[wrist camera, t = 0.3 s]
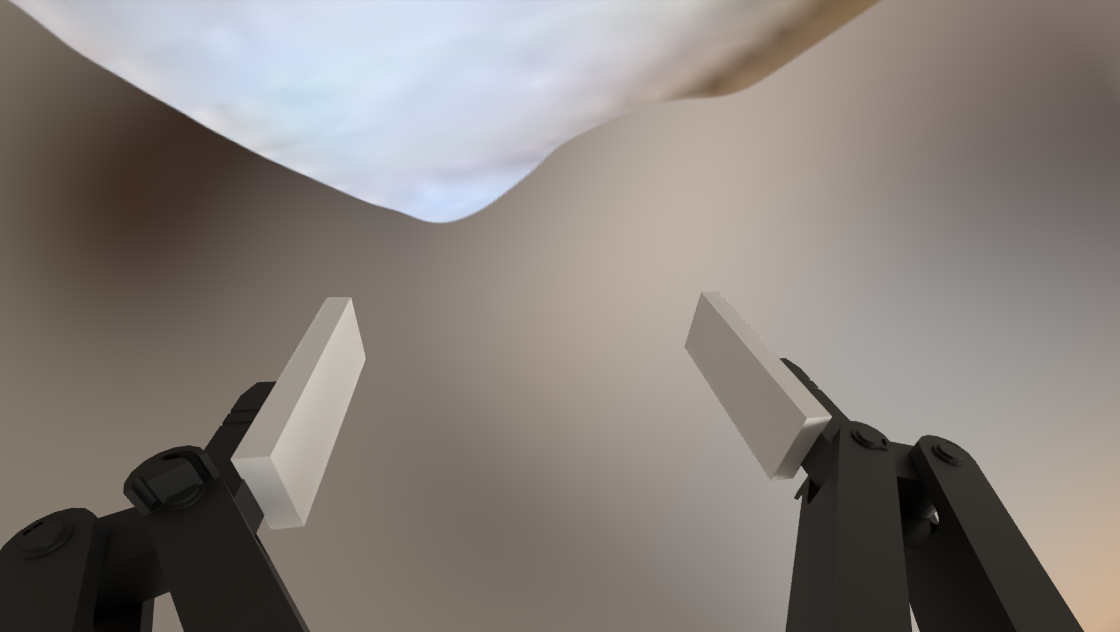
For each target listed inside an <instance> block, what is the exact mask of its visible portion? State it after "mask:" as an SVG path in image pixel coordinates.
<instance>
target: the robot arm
mask: <svg viewBox="0 0 1120 632" xmlns="http://www.w3.org/2000/svg"><path fill="white" fill-rule="evenodd" d="M685 348H686V350H687V351H688V353H689V354H690V356H691V357H692V359H693V360H694V362H695V363H696V365H697V367H698V368H699V370H700V371H701V373H702V374H703V376H704V378H705V379H706V381H707V382H708V384H709V385H710V387H711V388H712V390H713V392H714V393H715V395H716V396H717V398H718V399H719V401H720V403H721V404H722V406H723V407H724V409H725V410H726V411H727V413H728V415H729V416H730V418H731V420H732V421H733V423H734V424H735V426H736V427H737V429H738V430H739V432H740V434H741V435H742V437H743V438H744V440H745V441H746V443H747V444H748V446H749V448H750V449H751V451H752V452H753V454H754V455H755V457H756V459H757V460H758V462H759V463H760V465H761V466H762V468H763V469H764V471H765V473H766V474H767V476H768V477H769V479H770V480H781V479H791V478H793V477H794V476H795V474H796V473H797V471H798V469H799V468H800V466H802V467H803V469H804V470H805V471H806V473H807V474H808V477H807V478H806V480H805V481H804V483H803V484H802V486H801V487H800V489H799V490H798V492H797V493H796V495H795V497H794V498H795V499H797V500H798V499H799V498H800V496H801V495H802V503H801V510H800V518H799V526H798V535H797V543H796V551H795V559H794V567H793V575H792V583H791V592H790V600H789V607H788V608H789V609H788V615H787V616H788V617H787V624H786V632H912V625H911V616H910V605H911V608H912V611H913V614H914V617H915V619H916V622H917V625H918V628H919V631H920V632H1084V631H1083V629H1082V628H1081V626H1080V625H1079V623H1078V621H1077V620H1076V618H1075V617H1074V615H1073V614H1072V612H1071V610H1070V609H1069V607H1068V606H1067V604H1066V603H1065V601H1064V599H1063V598H1062V596H1061V595H1060V593H1059V592H1058V590H1057V589H1056V587H1055V585H1054V584H1053V582H1052V581H1051V579H1050V578H1049V576H1048V574H1047V573H1046V571H1045V570H1044V568H1043V567H1042V565H1041V564H1040V562H1039V560H1038V559H1037V557H1036V555H1035V554H1034V552H1033V551H1032V549H1031V548H1030V546H1029V545H1028V543H1027V541H1026V540H1025V538H1024V537H1023V535H1022V534H1021V532H1020V530H1019V529H1018V527H1017V526H1016V524H1015V523H1014V521H1013V519H1012V518H1011V516H1010V515H1009V513H1008V512H1007V510H1006V509H1005V507H1004V505H1003V504H1002V502H1001V501H1000V499H999V497H998V496H997V494H996V493H995V491H994V490H993V488H992V487H991V485H990V483H989V482H988V480H987V479H986V477H985V476H984V474H983V473H982V471H981V469H980V468H979V466H978V465H977V463H976V461H975V460H974V459H973V458H972V457H971V456H970V454H969V453H967V452H966V451H965V450H964V449H962V448H961V447H960V446H958V445H957V444H955V443H952V442H951V441H949V440H946V439H943V438H941V437H938V436H932V435H926V436H922V437H921V438H920V439H919V441H918V442H917V443H916V444H915V445H914V446H911V445H906V444H900V443H895V442H890V441H889V440H888V439H887V438H886V437H885V435H883V434H882V433H881V432H879V431H878V430H877V429H875V428H873V427H871V426H869V425H867V424H864V423H861V422H857V421H850V420H849V419H848V418H847V417H846V416H845V415H844V414H843V413H842V412H841V411H840V410H839V409H838V407H836V405H834V403H833V402H832V401H831V400H830V399H829V398H828V397H827V396H826V395H825V394H824V393H823V392H822V391H821V390H819V389H818V386H817V385H816V384H815V383H814V382H813V381H810V378H809V377H808V376H807V375H806V374H805V373H804V372H803V371H802V370H801V368H799V367H798V366H796V365H795V364H793V363H792V362H790V361H789V360H787V359H786V358H778V357H777V356H776V355H775V353H774V352H773V351H772V350H771V349H770V348H769V347H768V346H767V345H766V344H765V342H764V341H763V340H762V339H761V338H760V337H759V336H758V335H757V334H756V333H755V331H754V330H753V329H752V328H751V327H750V326H749V325H748V324H747V323H746V322H745V320H743V318H742V317H741V316H740V315H739V314H738V313H737V312H736V311H735V309H734V308H733V307H732V306H731V305H730V304H729V303H728V302H727V301H726V299H725V298H724V297H723V296H722V295H721V294H720V293H719V292H701V295H700V298H699V301H698V305H697V308H696V312H695V315H694V318H693V321H692V324H691V328H690V331H689V334H688V337H687V341H686V344H685ZM364 361H365V354H364V350H363V345H362V341H361V337H360V334H359V329H358V325H357V321H356V316H355V312H354V308H353V304H352V300H351V297H331V298H329V297H328V298H327V299H326V300H325V302H324V304H323V305H322V307H321V309H320V310H319V312H318V314H317V315H316V317H315V319H314V321H313V322H312V324H311V325H310V327H309V329H308V330H307V332H306V334H305V335H304V337H303V339H302V340H301V342H300V344H299V346H298V347H297V349H296V351H295V352H294V354H293V356H292V357H291V359H290V361H289V362H288V364H287V366H286V367H285V369H284V371H283V372H282V374H281V376H280V377H279V379H278V381H277V382H257V383H256V384H255V385H254V386H252V387H251V388H250V389H249V390H247V391H246V392H245V393H244V394H242V395H241V396H240V398H239V399H238V401H237V402H236V404H235V405H234V407H233V408H232V409H231V413H230V414H228V415H227V417H226V418H225V420H224V421H223V425H222V426H220V427H219V429H218V430H217V432H216V433H215V435H214V436H213V438H212V439H211V440H210V442H209V444H208V445H207V446H206V448H205V450H202V449H201V448H200V447H195V446H189V445H188V446H181V447H175V448H172V449H169V450H166V451H163V452H160V453H158V454H156V455H155V456H153V457H151V458H149V459H147V460H146V461H144V462H143V463H142V464H141V465H139V466H138V467H137V468H136V469H135V470H134V471H132V472H131V474H130V475H129V477H128V478H127V480H126V481H125V483H124V492H123V493H124V495H125V496H126V497H127V498H128V499H129V500H130V501H131V503H132V504H133V505H134V506H135V507H133V508H129V509H126V510H123V511H120V512H117V513H113V514H110V515H107V516H104V517H100V518H97V517H96V516H95V515H94V514H93V513H92V512H91V511H89V510H87V509H85V508H70V509H66V510H62V511H58V512H54V513H52V514H50V515H47V516H45V517H43V518H41V519H39V520H36V521H35V522H33V523H32V524H30V525H29V526H27V527H26V528H24V529H22V530H21V531H19V532H18V533H17V534H16V535H15V536H13V537H12V538H11V539H10V540H9V541H8V542H7V543H6V544H5V545H4V546H3V547H2V549H1V550H0V632H152V624H153V611H154V610H153V609H154V598H155V597H157V596H160V595H162V594H165V593H167V592H170V593H171V596H172V599H173V602H174V605H175V607H176V610H177V613H178V616H179V619H180V622H181V625H182V628H183V630H184V632H310V631H309V629H308V627H307V625H306V623H305V621H304V620H303V618H302V616H301V614H300V612H299V610H298V609H297V607H296V605H295V603H294V602H293V600H292V598H291V596H290V594H289V592H288V590H287V589H286V587H285V585H284V583H283V581H282V579H281V577H280V576H279V574H278V572H277V570H276V568H275V567H274V565H273V563H272V561H271V559H270V557H269V555H268V554H267V552H266V550H265V548H264V547H263V544H262V543H261V541H260V539H259V537H258V536H257V534H256V533H257V530H258V528H259V526H260V524H261V522H262V519H263V517H264V518H265V520H266V522H267V524H268V525H269V527H270V529H271V530H272V529H282V528H291V527H302V526H304V525H305V522H306V520H307V517H308V515H309V512H310V509H311V506H312V503H313V501H314V498H315V495H316V493H317V490H318V487H319V484H320V482H321V479H322V476H323V473H324V471H325V468H326V465H327V463H328V460H329V457H330V454H331V451H332V449H333V446H334V443H335V441H336V438H337V435H338V433H339V430H340V427H341V424H342V422H343V419H344V416H345V413H346V411H347V408H348V405H349V402H350V400H351V397H352V394H353V391H354V389H355V386H356V383H357V380H358V378H359V375H360V372H361V370H362V367H363V364H364ZM936 511H937V514H938V517H939V522H938V521H937V519H936V517H935V515H934V513H935V512H936ZM909 603H910V605H909Z"/></svg>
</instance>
